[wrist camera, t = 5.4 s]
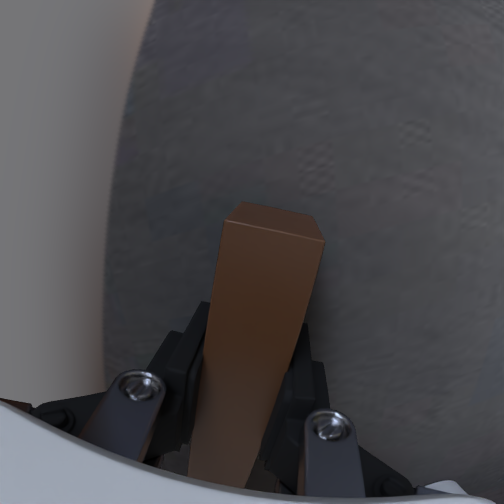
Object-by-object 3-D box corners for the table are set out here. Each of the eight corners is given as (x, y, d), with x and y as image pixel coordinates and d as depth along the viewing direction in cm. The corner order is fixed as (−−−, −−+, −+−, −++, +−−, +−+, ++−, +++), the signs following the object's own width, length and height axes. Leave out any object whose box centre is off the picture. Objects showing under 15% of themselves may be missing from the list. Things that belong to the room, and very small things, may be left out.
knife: (241, 200, 10) (222, 221, 7) (313, 216, 10) (327, 243, 6) (189, 516, 16) (179, 551, 13) (220, 523, 16) (213, 559, 13)
